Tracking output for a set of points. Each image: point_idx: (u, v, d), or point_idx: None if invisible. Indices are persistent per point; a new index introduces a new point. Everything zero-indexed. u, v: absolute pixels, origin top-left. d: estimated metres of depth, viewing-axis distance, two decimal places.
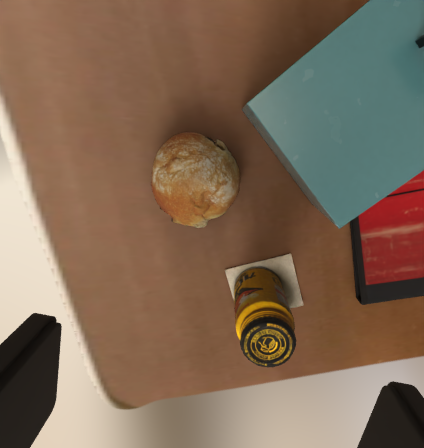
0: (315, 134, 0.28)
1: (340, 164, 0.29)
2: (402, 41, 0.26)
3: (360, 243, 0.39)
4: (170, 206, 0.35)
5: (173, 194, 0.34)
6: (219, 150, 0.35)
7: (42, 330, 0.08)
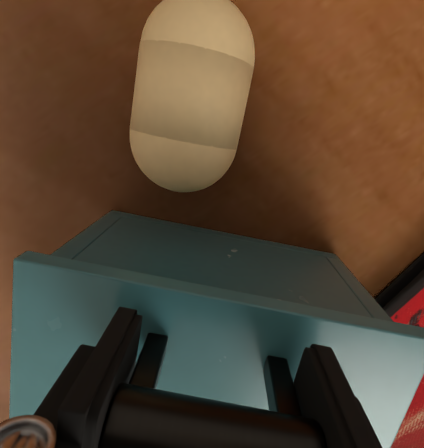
0: None
1: None
2: None
3: None
4: None
5: None
6: None
7: (131, 321, 0.09)
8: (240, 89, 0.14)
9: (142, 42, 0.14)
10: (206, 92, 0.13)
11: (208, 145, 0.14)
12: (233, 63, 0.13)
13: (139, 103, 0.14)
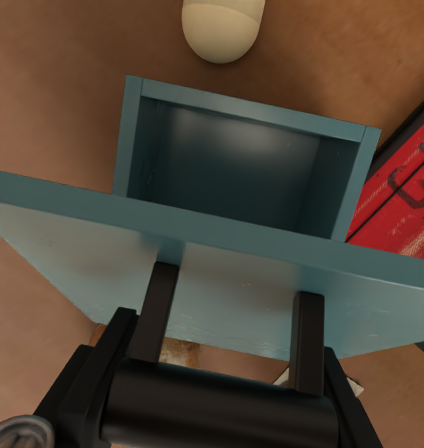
0: (181, 331, 0.18)
1: (243, 343, 0.18)
2: (138, 272, 0.10)
3: None
4: None
5: None
6: None
7: (130, 321, 0.09)
8: None
9: None
10: None
11: (241, 12, 0.20)
12: None
13: None
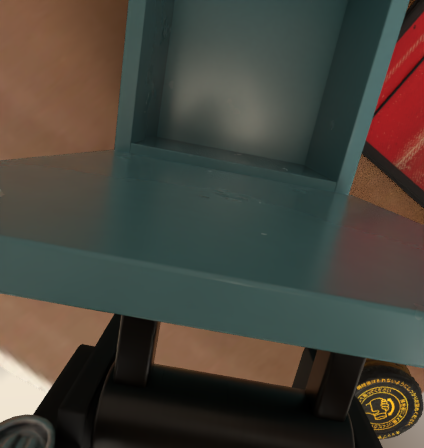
0: None
1: None
2: None
3: (403, 175, 0.26)
4: None
5: None
6: None
7: None
8: None
9: None
10: None
11: None
12: None
13: None
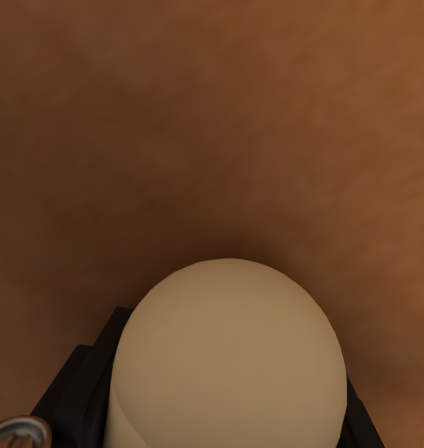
0: None
1: None
2: None
3: None
4: None
5: None
6: None
7: None
8: None
9: (115, 398, 0.07)
10: None
11: None
12: None
13: None
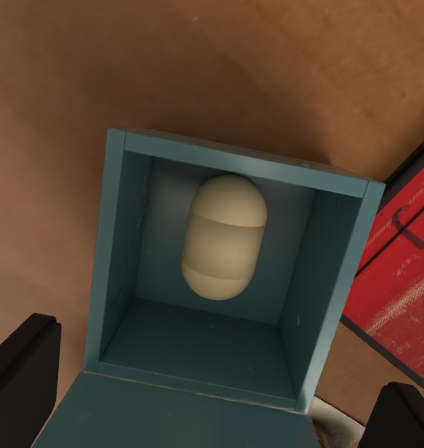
0: None
1: None
2: None
3: (373, 340, 0.27)
4: None
5: None
6: None
7: (42, 330, 0.08)
8: (258, 241, 0.21)
9: (193, 212, 0.21)
10: (236, 250, 0.21)
11: (237, 279, 0.21)
12: (254, 230, 0.21)
13: (191, 250, 0.22)
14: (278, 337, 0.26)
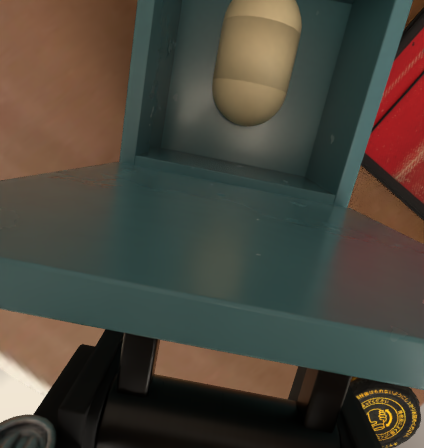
0: None
1: None
2: None
3: (402, 187, 0.27)
4: None
5: None
6: None
7: None
8: (293, 49, 0.21)
9: (228, 18, 0.21)
10: (272, 49, 0.20)
11: (271, 86, 0.21)
12: (290, 30, 0.20)
13: (225, 59, 0.21)
14: (307, 179, 0.26)
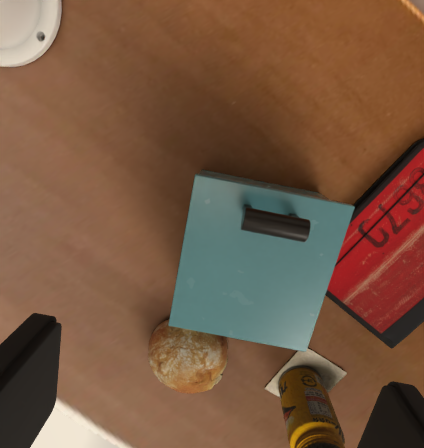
0: (230, 310, 0.32)
1: (266, 315, 0.32)
2: (233, 217, 0.29)
3: (348, 308, 0.40)
4: (184, 392, 0.41)
5: (178, 387, 0.40)
6: (186, 330, 0.40)
7: (42, 330, 0.08)
8: None
9: None
10: None
11: None
12: None
13: None
14: None
